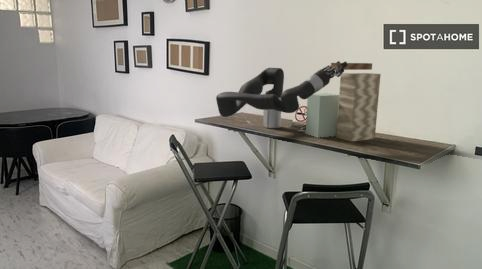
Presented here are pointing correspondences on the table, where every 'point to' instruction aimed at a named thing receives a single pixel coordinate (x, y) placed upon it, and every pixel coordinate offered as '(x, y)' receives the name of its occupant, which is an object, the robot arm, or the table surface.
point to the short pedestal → (322, 115)
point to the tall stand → (358, 106)
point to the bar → (354, 66)
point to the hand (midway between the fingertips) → (343, 63)
